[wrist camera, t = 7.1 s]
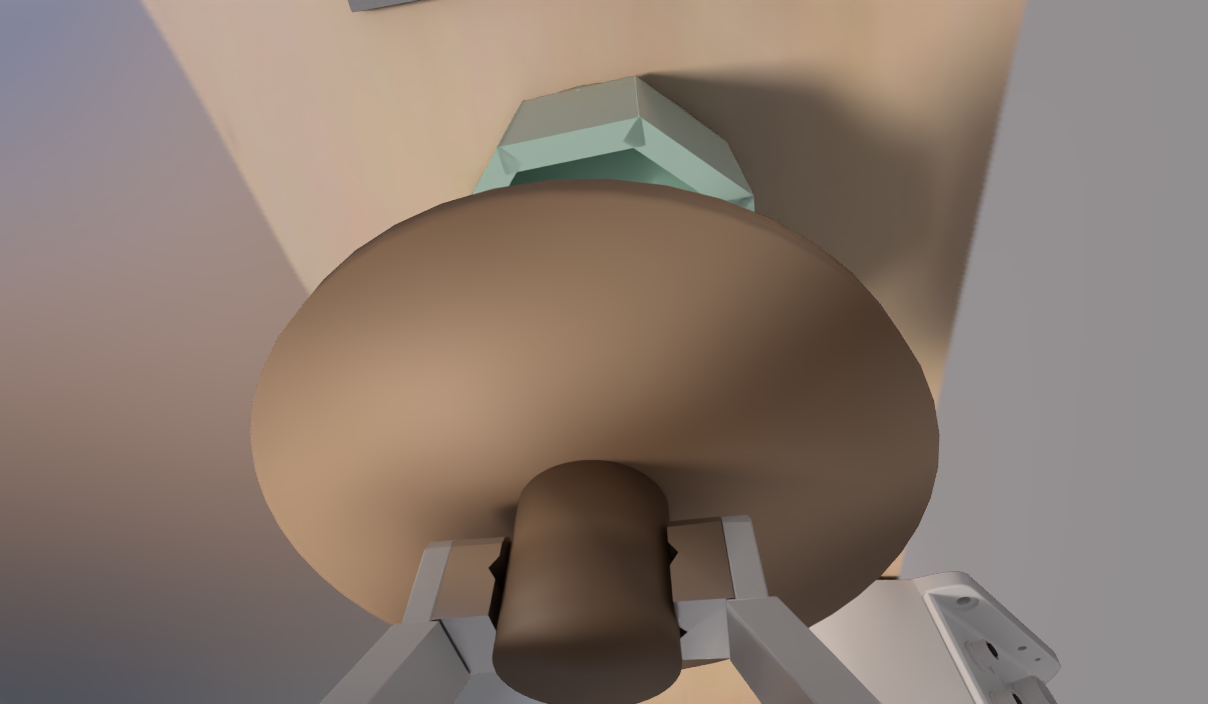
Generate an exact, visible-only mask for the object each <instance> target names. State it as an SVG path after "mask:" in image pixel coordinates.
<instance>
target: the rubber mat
mask: <svg viewBox="0 0 1208 704" xmlns="http://www.w3.org/2000/svg"><path fill="white" fill-rule="evenodd" d="M411 1H416V0H348V2H349V5H350V8H351V11H352V12H357V11H363V10H368V9H373V8H379V7H384V6H389V5H395V4H400V3H406V2H411Z"/></svg>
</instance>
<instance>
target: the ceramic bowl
mask: <svg viewBox="0 0 1208 704" xmlns="http://www.w3.org/2000/svg"><path fill="white" fill-rule="evenodd" d="M576 179H614V180H623V181H632V182H641V183H650V184H659V185H667V186H671V187H675V188H679V189H683V190H687V191H691V192H695V193H700V194H704V195H708V196H712V197H716V198H720V199H723V200H725V201H728V202H730V203H733V204H735V205H738V206H741V207H743V208H746V209H748V210H751V211H753V212H755V207H754V195H753V193H752V191H751V189H750V187H749V185H748V183H747V181H746V179H745V177H744V175H743V173H742V171H741V169H740V167H739V165H738V163H737V161H736V159H735V157H734V155H733V153H732V151H731V149H730V147H729V145H728V143H727V141H725V140H724V139H722V138H721V137H720V136H718V135H717V134H715V133H714V132H713V131H711V130H710V129H708V128H707V127H706V126H704V125H703V124H702V123H700V122H699V121H697V120H696V119H695V118H694V117H693V116H692V115H690V114H689V113H688V112H687V111H686V110H684V109H683V108H682V107H681V106H679V105H678V104H676V103H674V102H673V101H671V100H669V99H668V98H666V97H664V96H663V95H661V94H660V93H659V92H657V91H656V90H655V89H653V88H652V87H650V86H649V85H648V84H646V83H645V82H643V81H642V80H641V79H639V78H638V77H637V76H632V77H628V78H623V79H619V80H614V81H610V82H605V83H595V84H589V85H582V86H577V87H574V88H571V89H567V90H564V91H561V92H559V93H556V94H552V95H547V96H543V97H538V98H534V99H529V100H525V101H524V100H523V101H522V102H521V104H520V106H519V108H518V110H517V111H516V113H515V115H514V117H513V119H512V121H511V122H510V124H509V126H508V128H507V130H506V131H505V133H504V135H503V137H502V139H501V141H500V142H499V144H498V146H497V149H496V151H495V153H494V155H493V157H492V158H491V160H490V162H489V164H488V166H487V168H486V170H485V171H484V173H483V175H482V177H481V179H480V181H479V183H478V184H477V186H476V188H475V190H474V192H473V193H472V195H473V194H476V193H480V192H483V191H487V190H490V189H494V188H500V187H507V186H513V185H520V184H527V183H533V182H540V181H547V180H576Z"/></svg>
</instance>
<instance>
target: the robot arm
mask: <svg viewBox="0 0 1208 704" xmlns="http://www.w3.org/2000/svg"><path fill="white" fill-rule="evenodd" d="M667 535H668V545H669V553H670V560H671V564H670V572H671V583H672V594H673V604H674V611H675V618H676V622H677V624H678V626H679V630H680V641H681V653H682V659H683V660H691V659H720V658H730V660H731V662H732V663H733V665H734V666H735V667H736V669H737V670H738V672H739V673H740V674H741V676H742V677H743V678H744V680H745V681H746V683H747V684H748V685H749V687H750V688H751V689H752V691H753V692H754V694H755V695H756V696H757V698H758V699H759V700H760V702H761V703H762V704H1057V703H1056V701H1055V699H1054V698H1053V696H1052V694H1051V693H1050V691H1049V690H1048V688H1047V687H1046V686H1045V684H1046V683H1047V682H1048V681H1049V680H1051V679H1052V678H1053V677H1054V676H1055V675H1056V674H1057V672H1058V671H1059V670H1060V668H1061V666H1060V663H1059V661H1058V659H1057V657H1056V655H1055V653H1054V652H1053V651H1052V650H1051V649H1050V648H1049V647H1048V646H1047V645H1046V644H1045V643H1043V642H1042V641H1041V640H1040V639H1039V638H1038V637H1037V636H1036V635H1035V634H1034V633H1032V632H1031V631H1030V630H1029V629H1028V628H1027V627H1026V626H1025V625H1024V624H1022V623H1021V622H1020V621H1019V620H1018V619H1017V618H1016V617H1015V616H1014V615H1012V614H1011V613H1010V612H1009V611H1008V610H1007V609H1006V608H1005V607H1003V606H1002V605H1001V604H1000V603H999V602H998V601H997V600H996V599H995V598H993V597H992V596H991V595H990V594H989V593H988V592H987V591H986V590H985V589H984V588H982V587H981V586H980V585H979V584H978V583H977V582H976V581H975V580H973V579H972V578H971V577H970V576H969V575H968V574H966V573H964V572H958V571H953V572H944V573H938V574H933V575H928V576H924V577H919V578H915V579H908V580H876V581H875V582H873V583H872V584H871V585H870V586H869V587H868V588H867V589H866V590H864V591H863V592H862V593H861V594H860V595H859V596H858V597H856V598H855V599H853V600H852V601H851V602H849V603H848V604H846V605H845V606H844V607H842V608H841V609H839V610H838V611H837V612H835V613H834V614H832V615H831V616H829V617H827V618H825V619H824V620H822V621H820V622H818V623H817V624H815V625H813V626H811V627H810V628H808V627H807V626H806V625H805V624H804V623H803V622H802V621H801V620H800V619H799V618H798V617H797V616H796V615H795V614H794V613H793V612H792V611H791V610H790V609H789V608H788V607H787V606H786V605H785V604H784V603H783V602H782V601H781V600H780V599H779V598H778V597H777V596H771V597H769V596H768V591H767V587H766V583H765V578H764V574H763V569H762V565H761V560H760V556H759V552H758V547H757V543H756V538H755V534H754V530H753V525H752V521H751V518H750V517H749V515H748V514H746V515H735V516H725V517H721V518H720V516H717V517H707V518H697V519H688V520H678V521H668V522H667ZM510 548H511V540H510V538H509V537H494V538H478V539H462V540H447V541H435V542H430V543H429V544H428V546H427V547H426V549H425V550H424V553H423V556H422V559H421V562H420V565H419V569H418V572H417V575H416V578H415V582H414V585H413V588H412V591H411V594H410V598H409V601H408V604H407V607H406V610H405V614H404V617H403V620H402V623H399V624H394V625H393V626H392V627H391V628H390V629H389V630H388V631H387V632H386V633H385V634H384V635H383V636H382V637H381V638H380V639H379V641H378V642H377V643H376V644H375V645H374V646H373V647H372V648H371V649H370V650H369V651H368V652H367V654H365V656H364V657H363V658H362V659H361V660H360V661H359V662H358V663H357V664H356V665H355V666H354V667H353V668H352V670H350V672H349V673H348V674H347V675H346V676H345V677H344V678H343V679H342V680H341V681H340V682H339V683H338V684H337V685H336V686H335V688H334V689H333V690H332V691H331V692H330V693H329V694H328V695H327V696H326V697H325V698H324V699H323V700H322V702H321V703H320V704H453V703H454V702H455V700H456V699H457V697H458V695H459V694H460V692H461V691H462V690H463V688H464V687H465V685H466V684H467V682H468V680H469V679H470V675H469V674H480V673H490V672H496V671H495V669H494V666H493V663H492V653H493V648H494V642H495V636H496V630H497V624H498V618H499V612H500V607H501V601H502V595H503V589H504V583H505V577H506V571H507V565H508V560H509V554H510Z"/></svg>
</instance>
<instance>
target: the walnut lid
mask: <svg viewBox="0 0 1208 704" xmlns="http://www.w3.org/2000/svg"><path fill="white" fill-rule="evenodd" d="M250 439H251V446H252V452H253V459H254V466H255V471H256V474H257V477H258V480H259V483H260V486H261V489H262V492H263V495H264V498H265V500H266V502H267V504H268V506H269V507H270V510H271V512H272V513H273V515H274V517H275V519H276V521H277V523H278V525H279V527H280V528H281V529H282V531H283V532H284V534H285V535H286V536H287V538H288V539H289V540H290V542H291V543H292V544H293V546H294V547H295V548H296V550H297V551H298V553H300V555H302V557H303V558H304V559H305V560H306V561H307V562H308V563H309V564H310V565H311V566H312V567H313V568H314V569H315V570H316V571H317V572H318V574H320V575H321V576H322V577H323V578H324V579H325V580H326V581H328V582H329V583H330V584H331V585H332V586H334V587H335V588H336V589H337V590H338V591H340V592H341V593H342V594H343V595H344V596H346V597H347V598H349V599H350V600H352V601H353V602H355V603H356V604H358V605H359V606H361V607H362V608H363V609H365V610H366V611H368V612H370V613H371V614H373V615H374V616H376V617H378V618H380V619H382V620H384V621H386V622H387V623H389V624H391V625H394V624H399V623H402V620H403V617H404V614H405V610H406V607H407V604H408V601H409V598H410V594H411V591H412V588H413V585H414V582H415V578H416V575H417V572H418V569H419V565H420V562H421V559H422V556H423V553H424V550H425V549H426V547H427V546H428V544H429V543H430V542H435V541H447V540H462V539H478V538H494V537H509V538H510V540H511V548H510V554H509V560H508V565H507V571H506V577H505V583H504V589H503V595H502V601H501V607H500V612H499V618H498V624H497V630H496V636H495V642H494V648H493V653H492V663H493V666H494V669H495V671H496V673H497V675H498V676H499V677H500V678H501V680H502V681H504V682H505V683H506V684H507V685H508V686H509V687H511V688H512V689H514V690H515V691H517V692H519V693H521V694H523V695H525V696H527V697H529V698H531V699H534V700H537V701H540V702H543V703H547V704H636V703H640V702H643V701H645V700H648V699H651V698H653V697H655V696H657V695H659V694H660V693H662V692H664V691H665V690H666V689H668V688H669V687H670V686H671V685H672V684H673V683H674V682H675V681H676V680H677V678H678V677H679V675H680V672H681V670H682V669H686V668H691V667H696V666H701V665H706V664H711V663H716V662H719V661H723V660H727V659H730V658H720V659H691V660H683V659H682V653H681V641H680V630H679V626H678V624H677V622H676V618H675V611H674V604H673V594H672V583H671V572H670V564H671V560H670V553H669V545H668V535H667V522H668V521H678V520H688V519H697V518H707V517H717V516H720V518H721V517H725V516H735V515H746V514H748V515H749V517H750V518H751V521H752V525H753V530H754V534H755V538H756V543H757V547H758V552H759V556H760V560H761V565H762V569H763V574H764V578H765V583H766V587H767V591H768V596H769V597H771V596H777V597H778V598H779V599H780V600H781V601H782V602H783V603H784V604H785V605H786V606H787V607H788V608H789V609H790V610H791V611H792V612H793V613H794V614H795V615H796V616H797V617H798V618H799V619H800V620H801V621H802V622H803V623H804V624H805V625H806V626H807V627H808V628H810V627H811V626H813V625H815V624H817V623H818V622H820V621H822V620H824V619H825V618H827V617H829V616H831V615H832V614H834V613H835V612H837V611H838V610H839V609H841V608H842V607H844V606H845V605H846V604H848V603H849V602H851V601H852V600H853V599H855V598H856V597H858V596H859V595H860V594H861V593H862V592H863V591H864V590H866V589H867V588H868V587H869V586H870V585H871V584H872V583H873V582H875V581H876V580H877V579H878V578H879V577H880V576H881V575H882V574H883V573H884V572H885V571H886V569H887V568H888V567H889V566H890V565H891V564H892V562H893V561H894V560H895V559H896V558H897V557H898V556H899V554H900V553H901V552H902V551H903V549H904V547H905V546H906V544H907V543H908V541H909V540H910V538H911V537H912V535H913V533H914V532H915V530H916V529H917V527H918V525H919V523H920V521H921V519H922V516H923V514H924V512H925V510H926V507H927V505H928V503H929V500H930V498H931V494H932V490H933V486H934V482H935V478H936V473H937V469H938V454H939V429H938V423H937V417H936V411H935V405H934V400H933V397H932V394H931V392H930V389H929V386H928V384H927V381H926V379H925V376H924V373H923V371H922V368H921V366H920V364H919V362H918V361H917V359H916V358H915V356H914V354H913V353H912V351H911V350H910V348H909V346H908V345H907V343H906V342H905V340H904V338H903V337H902V335H901V334H900V332H899V330H898V329H897V328H896V326H895V325H894V323H893V322H892V320H891V319H890V317H889V316H888V314H887V313H886V312H885V310H884V309H883V307H882V306H881V304H880V303H879V302H878V301H877V300H876V299H875V298H874V297H873V295H872V294H871V293H870V292H869V291H868V290H867V289H866V288H865V287H864V286H863V284H862V283H861V282H860V281H859V280H858V279H857V278H856V277H855V276H854V275H853V273H852V272H850V271H849V270H848V269H847V268H845V267H844V266H843V265H842V264H840V263H839V262H838V261H836V260H835V259H834V258H833V257H831V256H830V255H829V254H828V253H826V252H825V251H824V250H823V249H821V248H820V247H819V246H817V245H816V244H815V243H813V242H812V241H810V240H808V239H806V238H804V237H803V236H801V235H799V234H797V233H796V232H794V231H792V230H790V229H789V228H787V227H785V226H783V225H782V224H780V223H778V222H776V221H775V220H773V219H771V218H769V217H766V216H763V215H761V214H758V213H756V212H753V211H751V210H748V209H746V208H743V207H741V206H738V205H735V204H733V203H730V202H728V201H725V200H723V199H720V198H716V197H712V196H708V195H704V194H700V193H695V192H691V191H687V190H683V189H679V188H675V187H671V186H667V185H659V184H650V183H641V182H632V181H623V180H614V179H576V180H547V181H540V182H533V183H527V184H520V185H513V186H507V187H500V188H494V189H490V190H487V191H483V192H480V193H476V194H473V195H470V196H466V197H463V198H459V199H456V200H452V201H449V202H446V203H442V204H440V205H438V206H435V207H433V208H431V209H429V210H426V211H424V212H422V213H420V214H418V215H415V216H413V217H411V218H409V219H407V220H404V221H402V222H400V223H398V224H396V225H394V226H392V227H391V228H389V229H388V230H386V231H385V232H383V233H382V234H380V235H379V236H377V237H375V238H374V239H372V240H371V241H369V242H368V243H366V244H365V245H363V246H362V247H360V248H359V249H357V250H355V251H354V252H353V253H352V254H351V255H350V256H349V257H348V258H347V259H346V260H345V261H343V262H342V263H341V264H340V265H339V266H338V267H337V268H336V269H335V270H334V271H332V272H331V273H330V274H329V275H328V276H327V277H326V278H325V279H324V280H323V281H322V282H321V283H320V285H319V286H318V287H317V288H316V289H315V291H314V292H313V293H312V294H311V296H310V297H309V298H308V299H307V300H306V302H305V303H304V304H303V305H302V307H301V308H300V309H299V311H298V312H297V313H296V315H295V316H294V317H293V318H292V320H291V321H290V322H289V324H288V325H287V326H286V328H285V329H284V330H283V332H282V333H281V334H280V335H279V337H278V338H277V340H276V342H275V344H274V346H273V348H272V350H271V352H270V354H269V356H268V358H267V360H266V362H265V364H264V366H263V368H262V371H261V373H260V377H259V381H258V385H257V389H256V393H255V397H254V401H253V404H252V418H251V438H250Z"/></svg>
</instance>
